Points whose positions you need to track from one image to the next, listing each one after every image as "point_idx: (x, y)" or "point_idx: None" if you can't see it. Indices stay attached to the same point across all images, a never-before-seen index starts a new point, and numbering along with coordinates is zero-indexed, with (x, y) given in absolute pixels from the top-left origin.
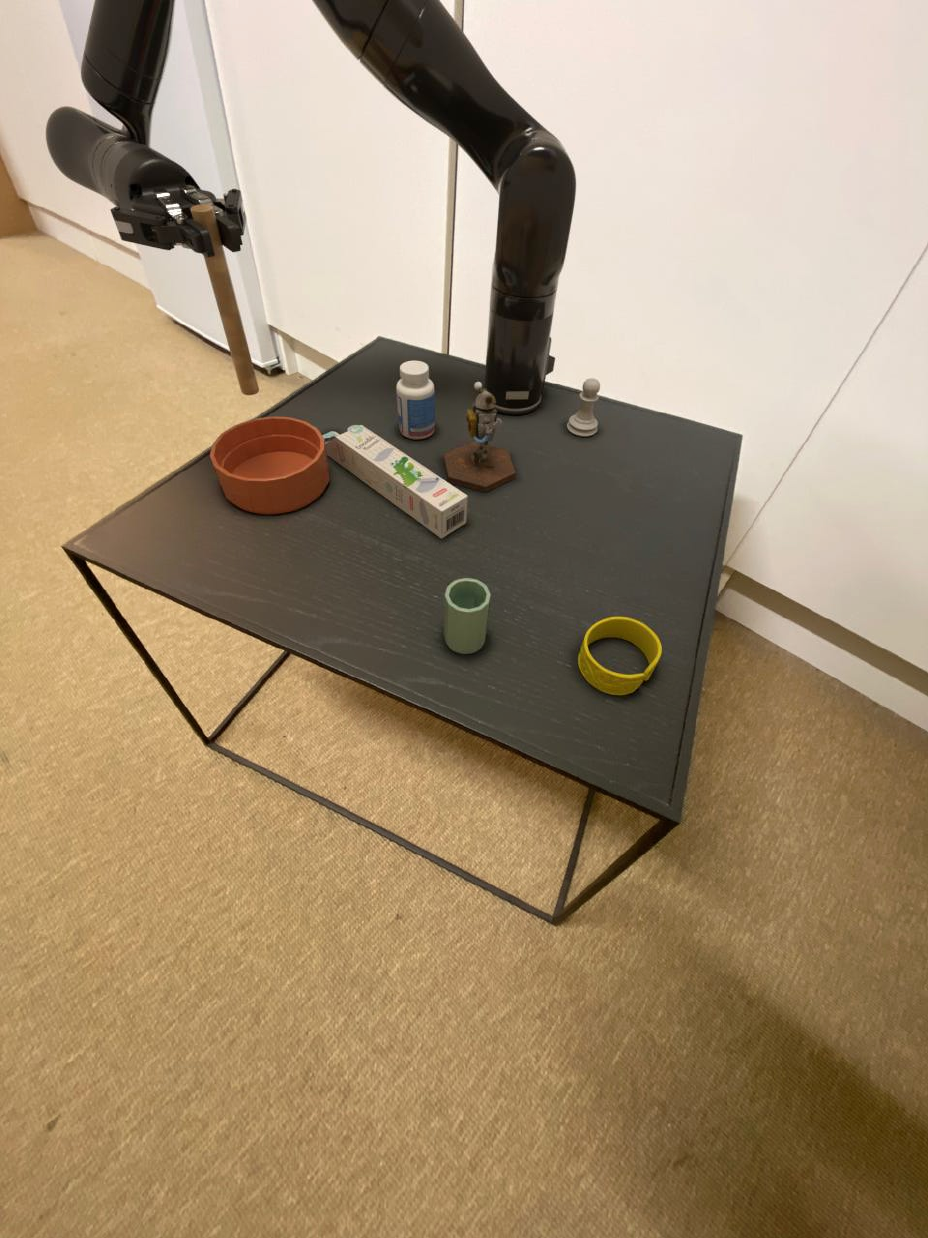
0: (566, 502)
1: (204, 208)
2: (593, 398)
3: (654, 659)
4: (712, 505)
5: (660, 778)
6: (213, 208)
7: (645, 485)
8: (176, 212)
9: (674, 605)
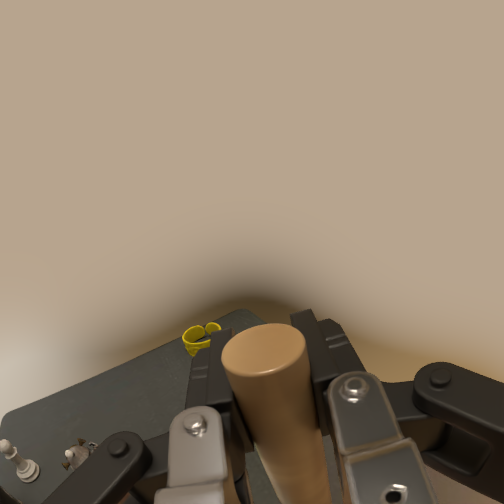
0: (113, 431)
1: (256, 339)
2: (13, 448)
3: (196, 326)
4: (68, 390)
5: (235, 313)
6: (192, 450)
7: (68, 416)
8: (367, 434)
9: (152, 358)
